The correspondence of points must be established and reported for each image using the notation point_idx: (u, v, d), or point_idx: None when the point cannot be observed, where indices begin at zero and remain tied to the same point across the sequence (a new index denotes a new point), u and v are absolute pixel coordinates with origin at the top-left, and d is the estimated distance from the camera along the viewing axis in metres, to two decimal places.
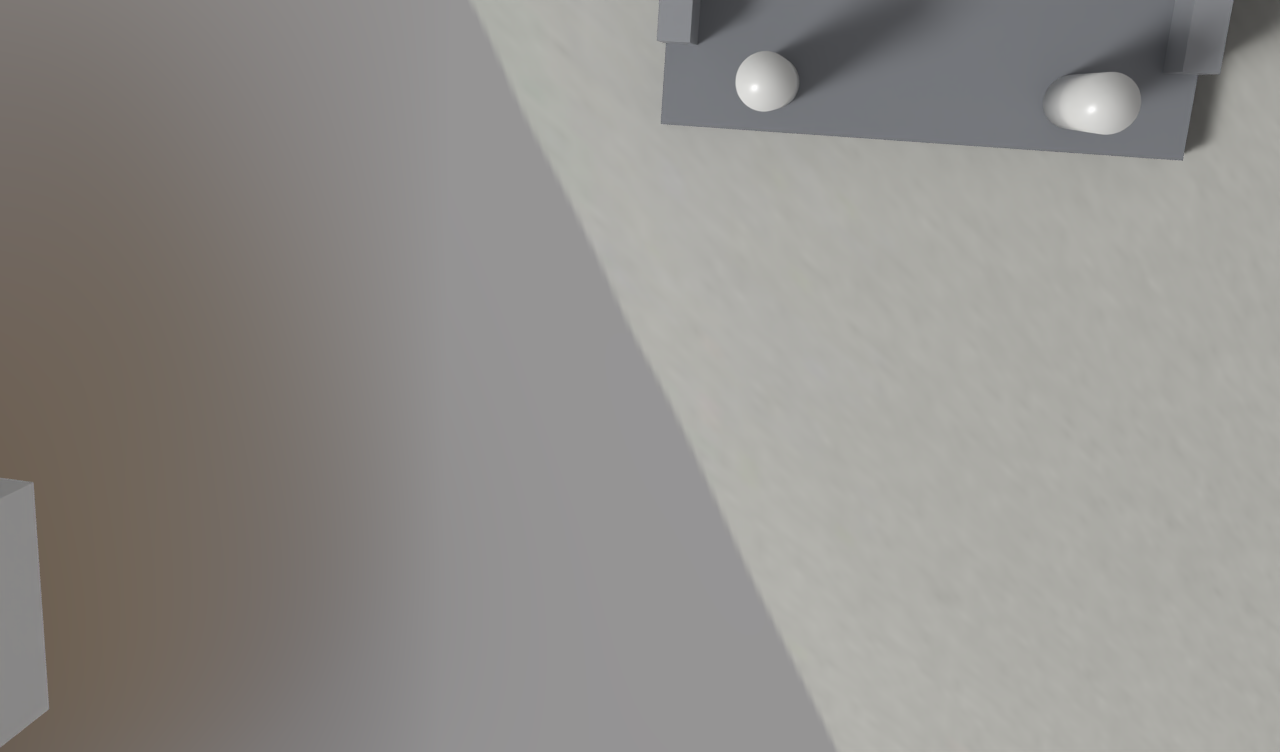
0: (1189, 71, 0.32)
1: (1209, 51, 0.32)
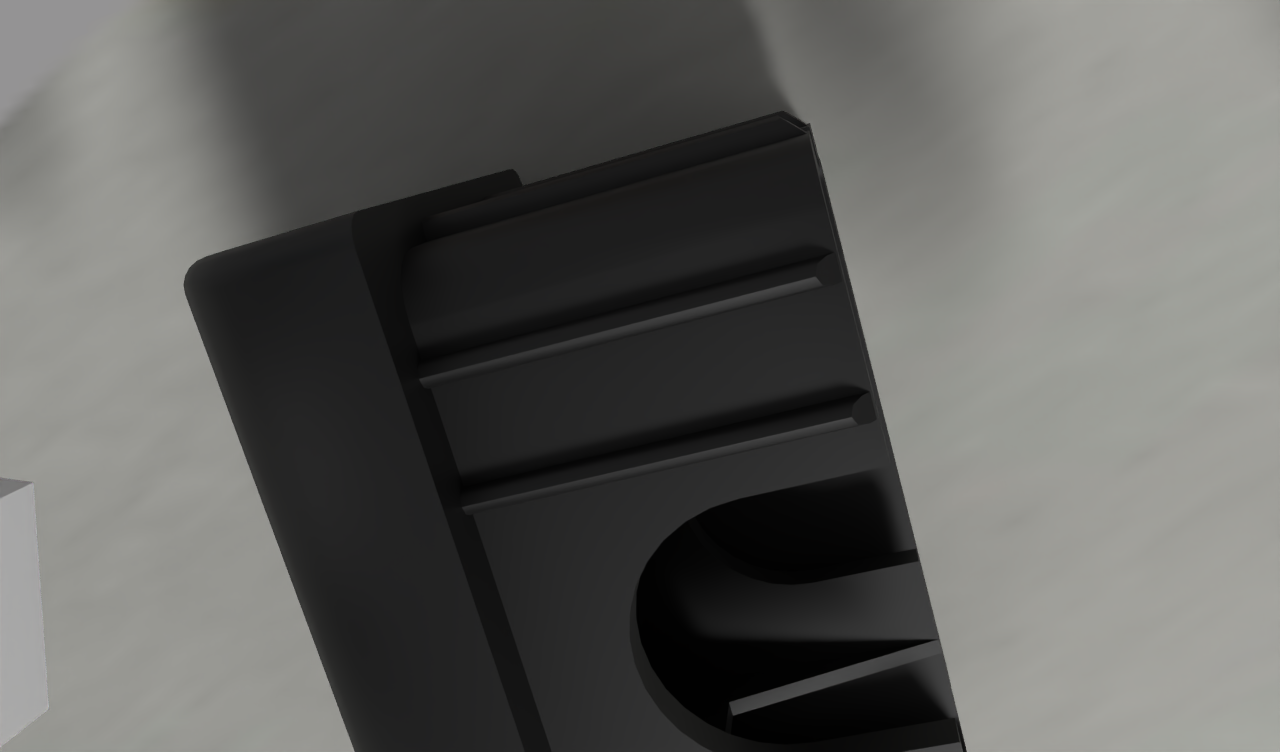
0: None
1: None
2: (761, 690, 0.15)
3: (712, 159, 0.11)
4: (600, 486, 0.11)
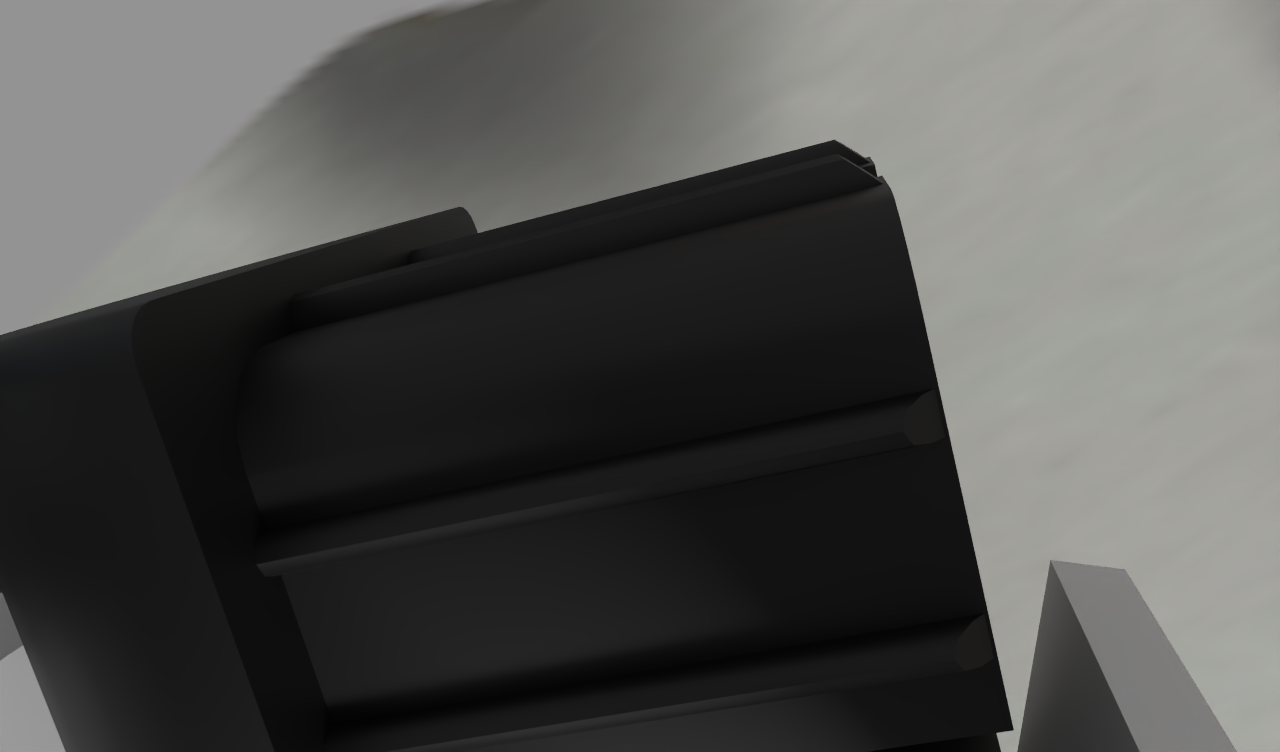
0: None
1: None
2: None
3: (734, 219, 0.07)
4: None
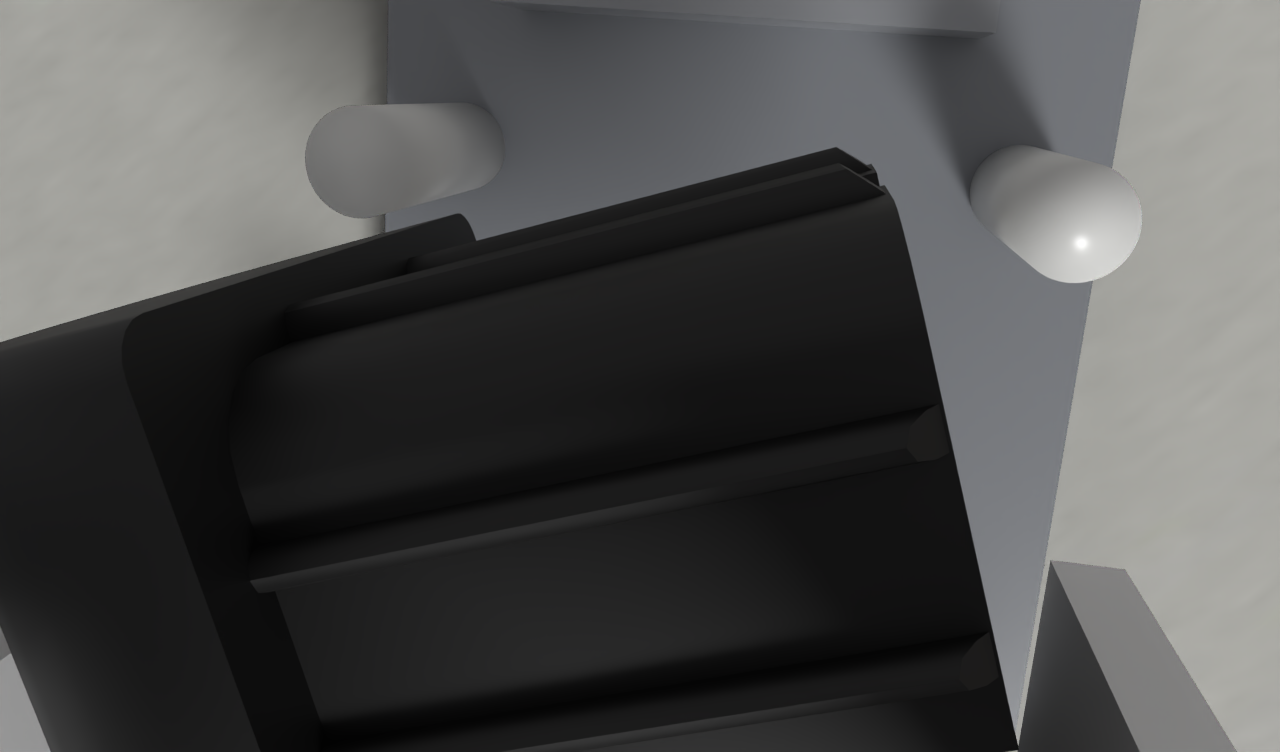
0: (995, 19, 0.17)
1: None
2: None
3: (736, 230, 0.07)
4: None
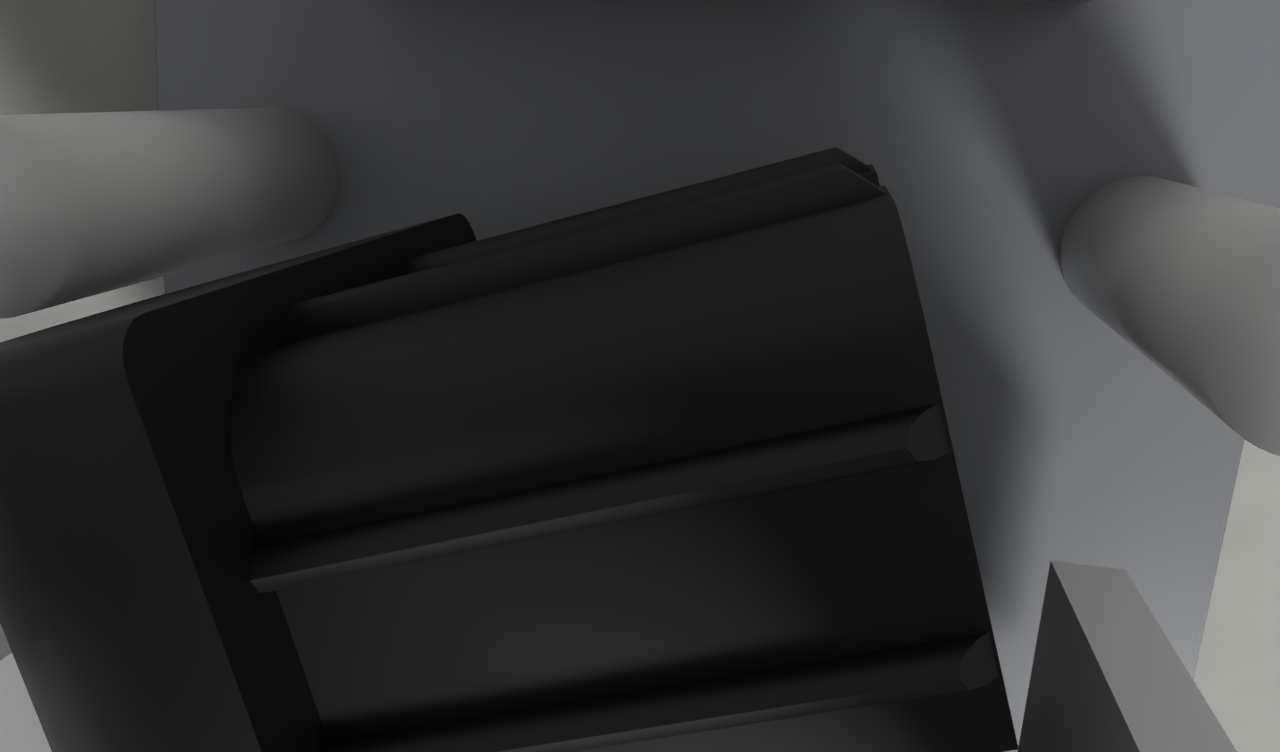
0: None
1: None
2: None
3: (736, 230, 0.07)
4: None
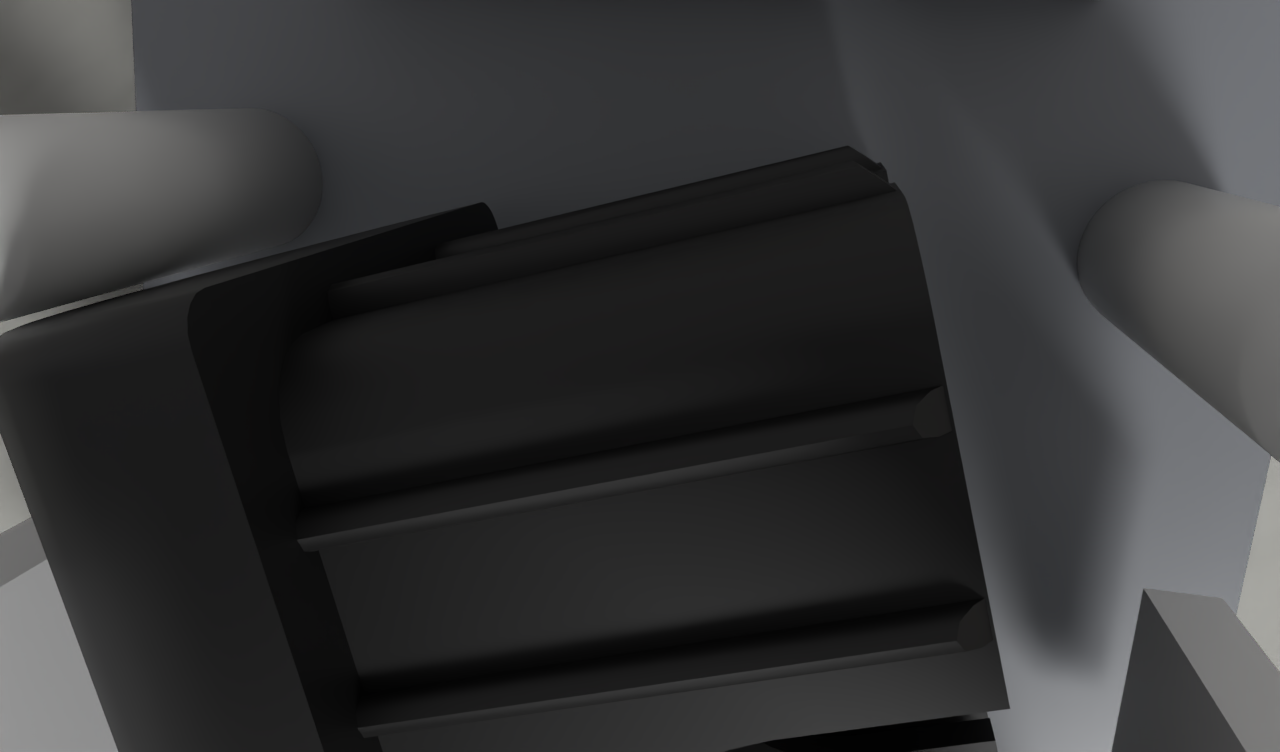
0: None
1: None
2: None
3: (754, 222, 0.08)
4: None
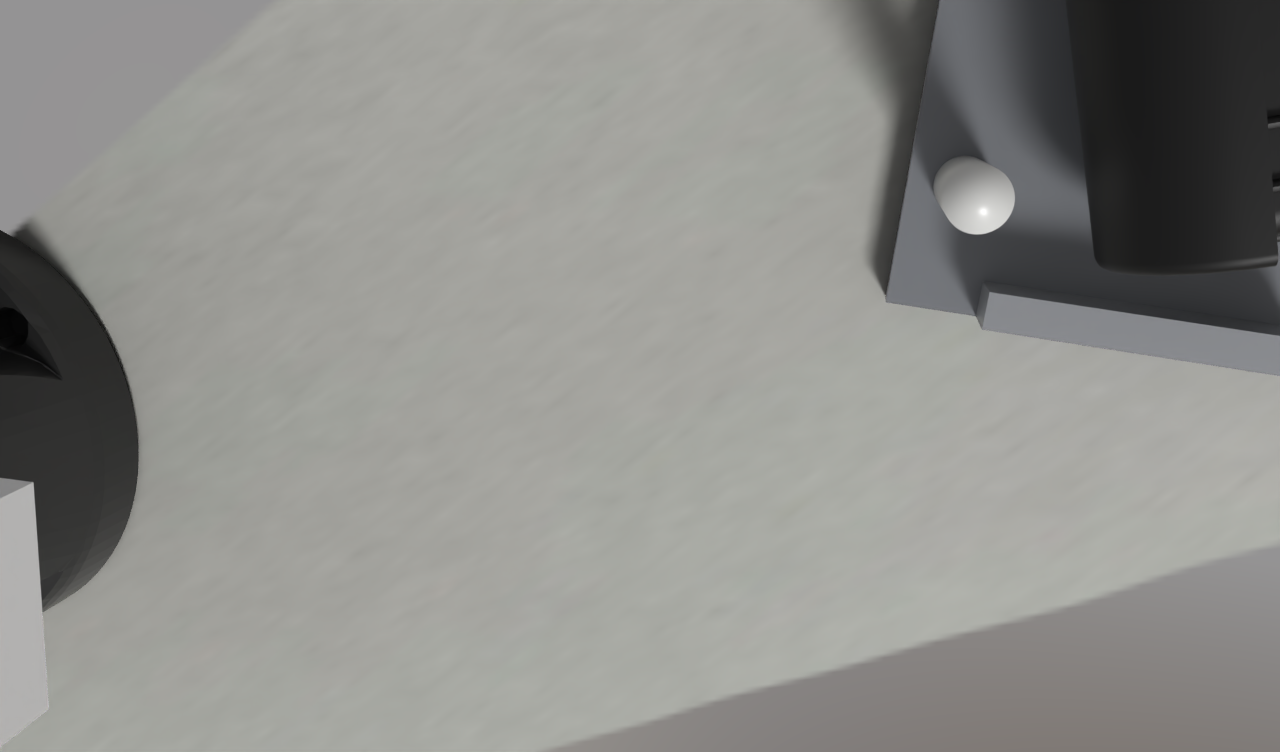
0: None
1: None
2: None
3: None
4: None
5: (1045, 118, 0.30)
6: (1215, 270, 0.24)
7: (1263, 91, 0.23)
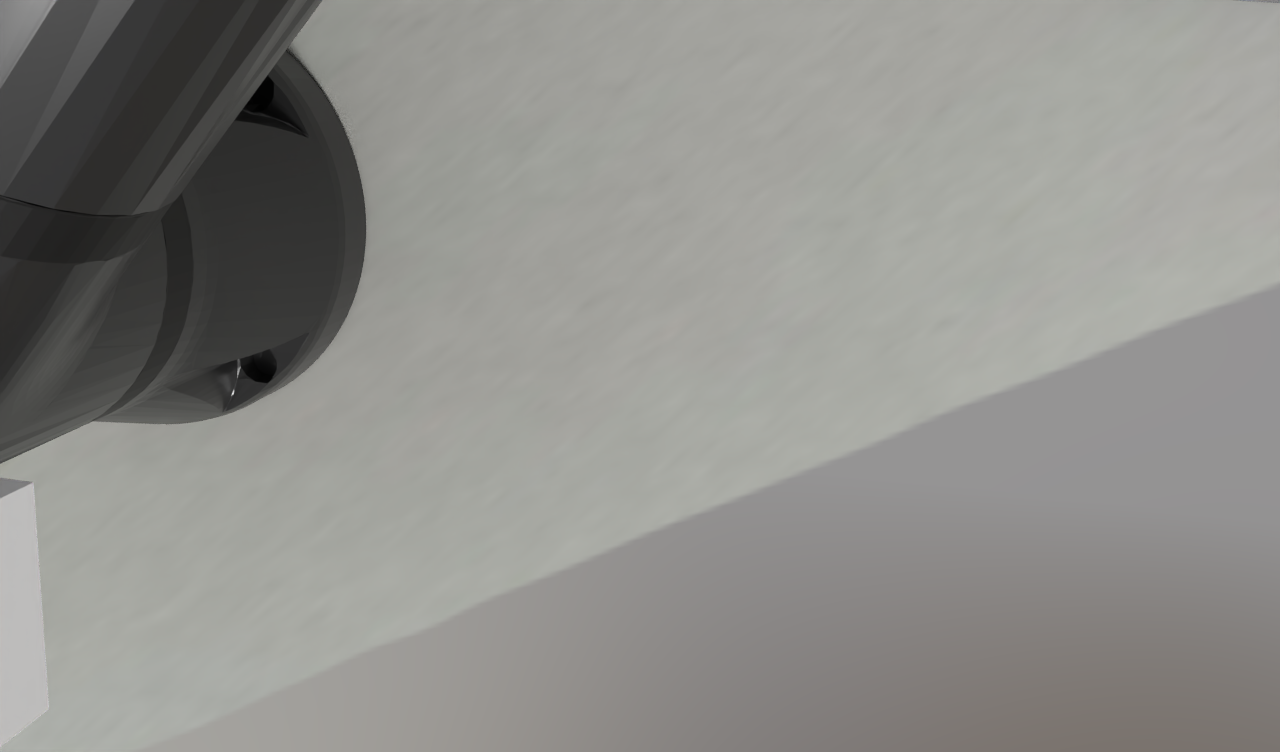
0: None
1: None
2: None
3: None
4: None
5: None
6: None
7: None
